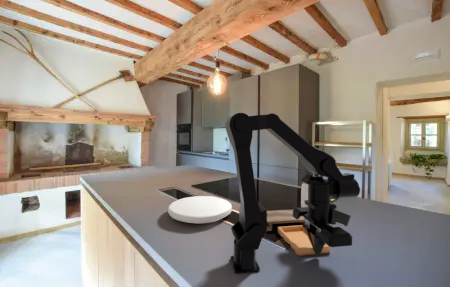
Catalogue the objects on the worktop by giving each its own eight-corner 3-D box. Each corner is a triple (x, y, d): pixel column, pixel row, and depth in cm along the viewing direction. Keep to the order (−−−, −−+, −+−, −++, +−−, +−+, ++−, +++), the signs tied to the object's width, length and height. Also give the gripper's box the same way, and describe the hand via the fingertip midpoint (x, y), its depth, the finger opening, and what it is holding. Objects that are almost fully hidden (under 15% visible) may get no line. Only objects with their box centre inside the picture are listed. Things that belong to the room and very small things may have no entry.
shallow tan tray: (330, 252, 60) (330, 246, 60) (298, 255, 58) (298, 249, 58) (304, 230, 73) (304, 225, 73) (277, 232, 72) (277, 226, 72)
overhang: (314, 227, 76) (314, 218, 76) (262, 231, 73) (262, 222, 72) (300, 216, 86) (300, 209, 85) (254, 219, 82) (254, 211, 82)
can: (306, 211, 92) (307, 184, 91) (298, 206, 98) (298, 181, 98) (319, 209, 94) (319, 183, 93) (309, 205, 100) (310, 180, 99)
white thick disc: (184, 192, 104) (236, 196, 99) (184, 205, 104) (236, 209, 99) (155, 205, 77) (224, 211, 72) (154, 222, 77) (224, 230, 71)
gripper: (373, 209, 49) (371, 273, 49) (324, 188, 67) (323, 235, 68) (331, 212, 47) (329, 278, 48) (292, 190, 65) (291, 238, 66)
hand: (317, 253), depth 57 cm, fingers closed
